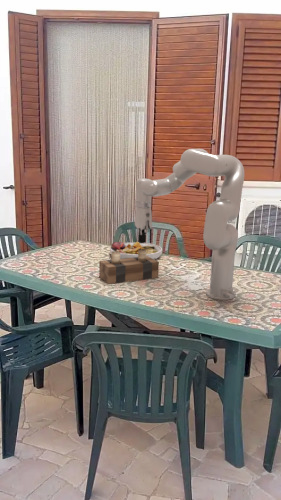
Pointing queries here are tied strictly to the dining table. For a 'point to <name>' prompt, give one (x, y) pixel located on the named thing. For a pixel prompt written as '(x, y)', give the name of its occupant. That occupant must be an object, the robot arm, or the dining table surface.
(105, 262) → the banded wooden block
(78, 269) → the dining table surface
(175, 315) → the dining table surface
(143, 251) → the beech peg
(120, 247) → the bowl
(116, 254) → the beech peg
